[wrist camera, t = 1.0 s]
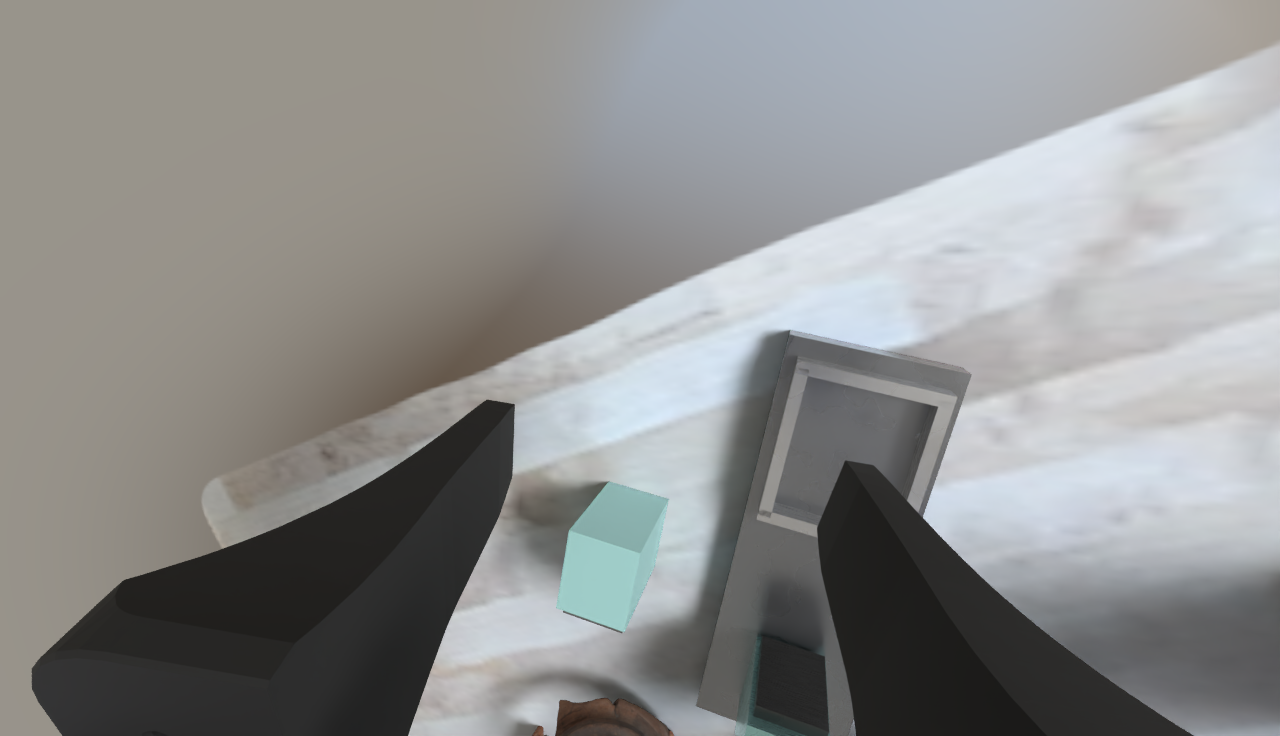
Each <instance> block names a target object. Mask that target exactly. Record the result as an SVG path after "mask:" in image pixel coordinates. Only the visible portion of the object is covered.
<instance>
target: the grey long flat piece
mask: <svg viewBox="0 0 1280 736" xmlns="http://www.w3.org/2000/svg"><path fill="white" fill-rule="evenodd" d="M971 375H972V374H970V373H969V372H968V371H966V370H965V369H964V368H962V367H957V366H953V365H948V364H944V363H939V362H934V361H930V360H925V359H921V358H916V357H912V356H907V355H902V354H898V353H893V352H889V351H884V350H879V349H875V348H870V347H866V346H861V345H857V344H852V343H847V342H843V341H838V340H834V339H829V338H825V337H820V336H815V335H811V334H806V333H802V332H797V331H793V330H790V334H789V338H788V342H787V346H786V350H785V353H784V357H783V361H782V365H781V369H780V373H779V377H778V381H777V385H776V389H775V393H774V397H773V401H772V405H771V409H770V413H769V417H768V421H767V425H766V429H765V433H764V437H763V441H762V445H761V449H760V453H759V457H758V461H757V465H756V469H755V473H754V477H753V481H752V484H751V488H750V492H749V496H748V500H747V504H746V508H745V512H744V516H743V520H742V524H741V528H740V532H739V536H738V540H737V544H736V548H735V552H734V556H733V560H732V564H731V568H730V572H729V576H728V580H727V584H726V588H725V592H724V596H723V600H722V604H721V608H720V611H719V615H718V619H717V623H716V627H715V631H714V635H713V639H712V643H711V647H710V651H709V655H708V659H707V663H706V667H705V671H704V675H703V679H702V683H701V687H700V691H699V696H698V700H697V705H696V706H697V707H700V708H703V709H705V710H708V711H711V712H713V713H716V714H719V715H721V716H724V717H727V718H729V719H732V720H735V721H736V728H735V736H848V733H849V730H850V727H851V724H852V722H853V719H854V715H853V708H852V701H851V695H850V690H849V685H848V680H847V675H846V671H845V667H844V663H843V659H842V655H841V651H840V647H839V643H838V639H837V635H836V631H835V627H834V623H833V619H832V615H831V611H830V607H829V602H828V598H827V594H826V590H825V586H824V582H823V577H822V573H821V565H820V557H819V547H818V536H817V527H818V524H819V522H820V519H821V517H822V515H823V512H824V510H825V507H826V505H827V503H828V500H829V498H830V495H831V493H832V491H833V488H834V486H835V484H836V481H837V479H838V476H839V474H840V472H841V469H842V467H843V464H844V462H845V460H847V461H853V462H858V463H864V464H870V465H874V466H875V467H876V468H877V469H878V470H879V471H880V472H881V473H882V474H883V475H884V476H885V477H886V478H887V479H888V480H889V482H890V483H891V484H892V485H893V486H894V487H895V488H896V489H897V490H898V491H899V492H900V494H901V495H902V496H903V497H904V498H905V499H906V500H907V501H908V502H909V503H910V505H911V506H912V507H913V508H914V509H915V510H916V511H917V512H918V513H919V514H920V515H921V517H922V518H923V515H924V512H925V509H926V506H927V503H928V500H929V497H930V494H931V491H932V488H933V485H934V483H935V480H936V477H937V474H938V471H939V468H940V465H941V462H942V459H943V456H944V453H945V451H946V448H947V445H948V442H949V439H950V436H951V433H952V430H953V427H954V424H955V421H956V418H957V416H958V413H959V410H960V407H961V404H962V401H963V398H964V395H965V392H966V389H967V386H968V383H969V381H970V378H971Z"/></svg>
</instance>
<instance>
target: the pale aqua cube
mask: <svg viewBox="0 0 1280 736" xmlns="http://www.w3.org/2000/svg"><path fill="white" fill-rule="evenodd" d="M668 500H669V499H667V498H663V497H660V496H656V495H653V494H650V493H646V492H643V491H640V490H636V489H633V488H629V487H626V486H623V485H619V484H616V483H613V482H608V483H607V484H606V486H605V487H604V488H603V489H602V490H601V492H600V493H599V494H598V495H597V497H596V498H595V499H594V500H593V502H592V503H591V504H590V505H589V506H588V508H587V509H586V510H585V511H584V513H583V514H582V515H581V516H580V518H579V519H578V520H577V521H576V522H575V524H574V525H573V526H572V527H571V529H570V530H569V533H568V539H567V546H566V552H565V558H564V564H563V570H562V576H561V582H560V588H559V594H558V600H557V606H556V608H557V609H560V610H563V612H564V613H567V614H569V615H572V616H575V617H578V618H581V619H583V620H586V621H589V622H592V623H595V624H597V625H600V626H603V627H606V628H609V629H611V630H614V631H617V632H620V633H622V632H625V630H626V628H627V625H628V623H629V621H630V619H631V617H632V614H633V612H634V610H635V608H636V606H637V603H638V601H639V599H640V597H641V595H642V593H643V590H644V588H645V586H646V584H647V582H648V579H649V577H650V575H651V573H652V571H653V568H654V566H655V561H656V557H657V552H658V547H659V542H660V538H661V533H662V528H663V524H664V519H665V514H666V509H667V505H668Z"/></svg>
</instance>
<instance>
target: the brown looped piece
mask: <svg viewBox="0 0 1280 736" xmlns="http://www.w3.org/2000/svg"><path fill="white" fill-rule="evenodd" d="M532 736H547V735H543V727H542V726H538V728H537V730H536V731H535V732H534V734H533V735H532ZM555 736H674V735H673V732H672V731H668V728H667V727H666V725H664V724H663V723H662V722H661V721H659V720H658V719H657V718H656V717H654V716H653V715H651V714H650V713H648V712H647V711H646V710H644V709H642V708H640V707H639V706H637V705H635V704H632V703H630V702H628V701H626V700H624V699H617V700H616V701H615V702H614V704H612V702H611V701H610V700H609V699H608V698H600V699H595V700H592V701H588V702H583V703H572V702H570V701H567V700H560V702H559V711H558V717H557V730H556V734H555Z"/></svg>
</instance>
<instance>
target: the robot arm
mask: <svg viewBox="0 0 1280 736" xmlns="http://www.w3.org/2000/svg"><path fill="white" fill-rule="evenodd" d="M514 411H515V404H509V403H504V402H498V401H492V400H486V401H484V402H483V403H482V404H480V405H479V406H478V407H476V408H475V409H474V410H472V411H471V412H470V413H468V414H467V415H466V416H465V417H463V418H462V419H461V420H459V421H458V422H457V423H456V424H454V425H453V426H452V427H450V428H449V429H448V430H446V431H445V432H444V433H442V434H441V435H440V436H438V437H437V438H436V439H434V440H433V441H431V442H430V443H429V444H427V445H426V446H425V447H423V448H422V449H420V450H419V451H418V452H416V453H415V454H413V455H412V456H410V457H409V458H407V459H406V460H404V461H403V462H401V463H400V464H398V465H397V466H395V467H394V468H392V469H390V470H389V471H387V472H386V473H384V474H383V475H381V476H380V477H378V478H376V479H375V480H373V481H371V482H370V483H368V484H366V485H364V486H363V487H361V488H359V489H357V490H355V491H353V492H352V493H350V494H348V495H346V496H344V497H342V498H340V499H338V500H337V501H335V502H333V503H331V504H329V505H326V506H324V507H322V508H320V509H318V510H316V511H313V512H311V513H309V514H307V515H305V516H302V517H300V518H298V519H296V520H294V521H292V522H289V523H287V524H285V525H283V526H281V527H278V528H276V529H273V530H271V531H268V532H266V533H263V534H261V535H258V536H256V537H253V538H251V539H248V540H246V541H243V542H240V543H238V544H235V545H232V546H229V547H227V548H224V549H221V550H219V551H216V552H213V553H210V554H207V555H204V556H201V557H198V558H195V559H192V560H188V561H185V562H182V563H179V564H176V565H172V566H169V567H166V568H163V569H159V570H156V571H153V572H150V573H147V574H144V575H140V576H137V577H133V578H130V579H126V580H124V581H122V582H121V583H120V584H119V585H118V586H117V587H116V588H114V589H113V590H112V591H111V592H110V593H109V594H108V595H107V596H106V597H105V598H104V599H102V600H101V601H100V602H99V603H98V604H97V605H96V606H95V607H94V608H93V609H92V610H91V611H90V612H89V613H88V614H86V615H85V616H84V617H83V618H82V619H81V620H80V621H79V622H78V623H77V624H76V625H75V626H74V627H73V628H71V629H70V630H69V631H68V632H67V633H66V634H65V635H64V636H63V637H62V638H61V639H60V640H59V641H58V642H57V643H56V644H54V645H53V646H52V647H51V648H50V649H49V650H48V651H47V652H46V653H45V654H44V655H43V656H42V657H41V658H40V659H39V660H38V661H37V663H36V664H35V665H34V667H33V668H32V690H33V692H34V694H35V696H36V698H37V700H38V702H39V703H40V705H41V706H42V708H43V709H44V710H45V712H46V713H47V715H48V716H49V717H50V719H51V720H52V722H53V723H54V724H55V726H56V727H57V729H58V730H59V731H60V733H61V734H62V736H408V734H409V731H410V728H411V725H412V722H413V719H414V716H415V714H416V711H417V708H418V705H419V702H420V699H421V696H422V694H423V691H424V688H425V685H426V682H427V679H428V677H429V674H430V671H431V668H432V666H433V663H434V660H435V657H436V655H437V652H438V649H439V647H440V644H441V641H442V638H443V636H444V633H445V630H446V628H447V625H448V623H449V621H450V618H451V616H452V614H453V611H454V609H455V607H456V605H457V603H458V600H459V598H460V596H461V594H462V592H463V590H464V588H465V586H466V584H467V582H468V580H469V578H470V576H471V574H472V572H473V570H474V567H475V565H476V563H477V561H478V559H479V557H480V555H481V553H482V551H483V549H484V547H485V545H486V543H487V541H488V538H489V536H490V534H491V532H492V530H493V528H494V526H495V524H496V522H497V519H498V517H499V515H500V512H501V509H502V506H503V503H504V500H505V497H506V494H507V491H508V488H509V485H510V482H511V479H512V470H513V440H514ZM817 536H818V547H819V557H820V565H821V573H822V577H823V582H824V586H825V590H826V594H827V598H828V602H829V607H830V611H831V615H832V619H833V623H834V627H835V631H836V635H837V639H838V643H839V647H840V651H841V655H842V659H843V663H844V667H845V671H846V675H847V680H848V685H849V690H850V695H851V701H852V708H853V715H854V722H855V729H856V736H1193V735H1192V734H1190V733H1189V732H1187V731H1185V730H1184V729H1182V728H1180V727H1179V726H1177V725H1175V724H1174V723H1172V722H1171V721H1169V720H1168V719H1166V718H1164V717H1163V716H1161V715H1160V714H1158V713H1157V712H1155V711H1154V710H1152V709H1151V708H1149V707H1148V706H1146V705H1145V704H1143V703H1142V702H1140V701H1139V700H1137V699H1136V698H1134V697H1133V696H1131V695H1130V694H1128V693H1127V692H1125V691H1124V690H1122V689H1121V688H1120V687H1118V686H1117V685H1115V684H1114V683H1112V682H1111V681H1110V680H1108V679H1107V678H1105V677H1104V676H1102V675H1101V674H1100V673H1098V672H1097V671H1095V670H1094V669H1093V668H1091V667H1090V666H1089V665H1087V664H1086V663H1085V662H1083V661H1082V660H1081V659H1079V658H1078V657H1077V656H1075V655H1074V654H1073V653H1071V652H1070V651H1069V650H1067V649H1066V648H1065V647H1063V646H1062V645H1061V644H1059V643H1058V642H1057V641H1055V640H1054V639H1053V638H1052V637H1050V636H1049V635H1048V634H1046V633H1045V632H1044V631H1043V630H1041V629H1040V628H1039V627H1038V626H1036V625H1035V624H1034V623H1033V622H1032V621H1030V620H1029V619H1028V618H1027V617H1026V616H1025V615H1023V614H1022V613H1021V612H1020V611H1019V610H1018V609H1016V608H1015V607H1014V606H1013V605H1012V604H1010V603H1009V602H1008V601H1007V600H1006V599H1005V598H1003V597H1002V596H1001V595H1000V594H999V593H998V592H997V591H996V590H994V589H993V588H992V587H991V586H990V585H989V584H988V583H987V582H986V581H985V580H984V579H983V578H982V577H980V576H979V575H978V574H977V573H976V572H975V571H974V570H973V569H972V568H971V567H970V566H969V565H968V564H967V563H966V562H965V561H964V560H963V559H962V558H961V557H960V556H959V555H958V554H957V553H956V552H955V551H954V550H953V549H952V548H951V547H950V546H949V545H948V544H947V543H946V542H945V541H944V540H943V539H942V538H941V537H940V536H939V535H938V534H937V533H936V532H935V530H934V529H933V528H932V527H931V526H930V525H929V524H928V523H927V522H926V521H925V520H924V519H923V518H922V517H921V515H920V514H919V513H918V512H917V511H916V510H915V509H914V508H913V507H912V506H911V505H910V503H909V502H908V501H907V500H906V499H905V498H904V497H903V496H902V495H901V494H900V492H899V491H898V490H897V489H896V488H895V487H894V486H893V485H892V484H891V483H890V482H889V480H888V479H887V478H886V477H885V476H884V475H883V474H882V473H881V472H880V471H879V470H878V469H877V468H876V467H875V466H874V465H870V464H864V463H858V462H853V461H847V460H845V462H844V464H843V467H842V469H841V472H840V474H839V476H838V479H837V481H836V484H835V486H834V488H833V491H832V493H831V495H830V498H829V500H828V503H827V505H826V507H825V510H824V512H823V515H822V517H821V519H820V522H819V524H818V527H817Z"/></svg>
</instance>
